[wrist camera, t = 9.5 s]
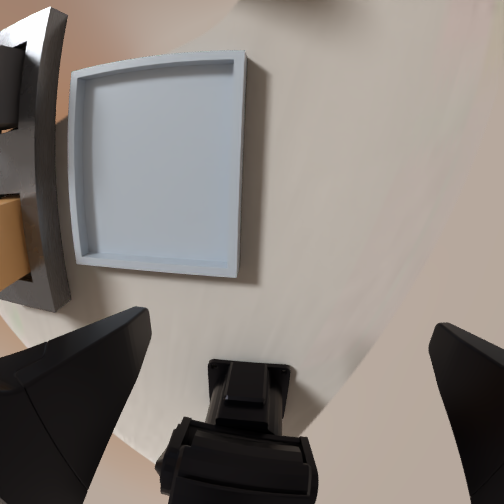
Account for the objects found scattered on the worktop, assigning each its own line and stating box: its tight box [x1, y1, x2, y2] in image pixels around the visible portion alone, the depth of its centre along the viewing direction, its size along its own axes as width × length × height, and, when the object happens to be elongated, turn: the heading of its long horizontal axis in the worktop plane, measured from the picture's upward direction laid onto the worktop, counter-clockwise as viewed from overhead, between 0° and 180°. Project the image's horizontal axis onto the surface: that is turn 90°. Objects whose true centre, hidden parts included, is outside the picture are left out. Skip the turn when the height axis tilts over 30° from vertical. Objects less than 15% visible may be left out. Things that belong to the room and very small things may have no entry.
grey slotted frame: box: [0, 7, 71, 312], centre depth 19 cm, size 24×9×2 cm, turn 178°
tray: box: [68, 50, 247, 278], centre depth 19 cm, size 14×12×2 cm
